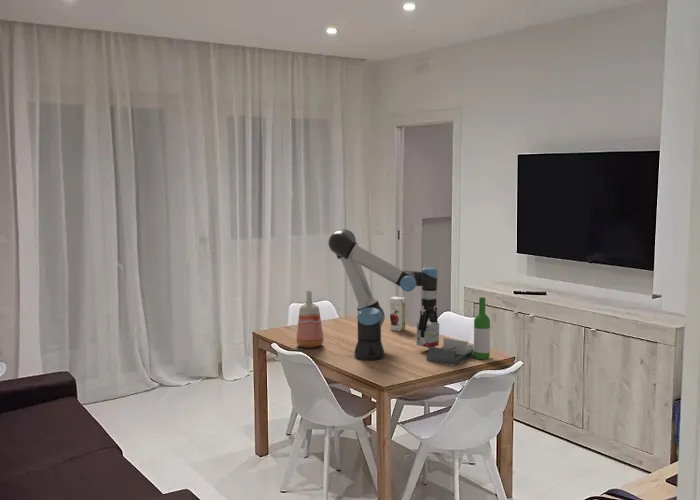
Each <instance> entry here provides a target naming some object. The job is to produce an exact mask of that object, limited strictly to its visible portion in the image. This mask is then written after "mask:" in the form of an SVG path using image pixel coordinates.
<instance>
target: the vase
mask: <svg viewBox="0 0 700 500" xmlns="http://www.w3.org/2000/svg"><path fill="white" fill-rule="evenodd" d="M312 293H313V291H312V290H306V303H305V304H303V305H301V306H300V307H299V311H298V321H297V328H296V338H295V339H296V344H297V345H298V346H299V347H302V348H305V349H313V348H317V347H320V346H322V345H323V344H324V341H325V338H324V337H325V335H324V330H323V325H322V318H321V313H320V307H319V306H318V305H316V304H314V303H313V298H312V297H313V296H312V295H313V294H312Z"/></svg>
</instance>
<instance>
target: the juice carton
mask: <svg viewBox="0 0 700 500" xmlns="http://www.w3.org/2000/svg"><path fill="white" fill-rule="evenodd" d="M406 303H407V302H406V297H405V296H404V297H402V296H401V297H400V296H397V295H394V296H391V297H389V303H388V304H389V305H388V313H389V314H388V323H389V324H388V325H389V330H390V331H394V332H402V331H405V329H406V325H407V323H406V321H407V320H406V318H407V316H406V314H407V311H406V309H407V308H406Z"/></svg>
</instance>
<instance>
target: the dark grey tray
mask: <svg viewBox="0 0 700 500" xmlns="http://www.w3.org/2000/svg"><path fill="white" fill-rule="evenodd" d="M427 349H428V352H427V353H426V361H428V360H429V361H428V362H435V363H440V362H441V364H445V363H447V365H451V364H453V365H452V366H458V365H460V364H462V363H463V361H464V362H465V361H467V360H469V359H471V358H474V344H468V353H466V354H464V355H460V354H456V351H455V350H448V349H443V346H441V347H437V346H435V347H430V346H429V347H428V348H427ZM461 362H462V363H461ZM459 363H460V364H459Z"/></svg>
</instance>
